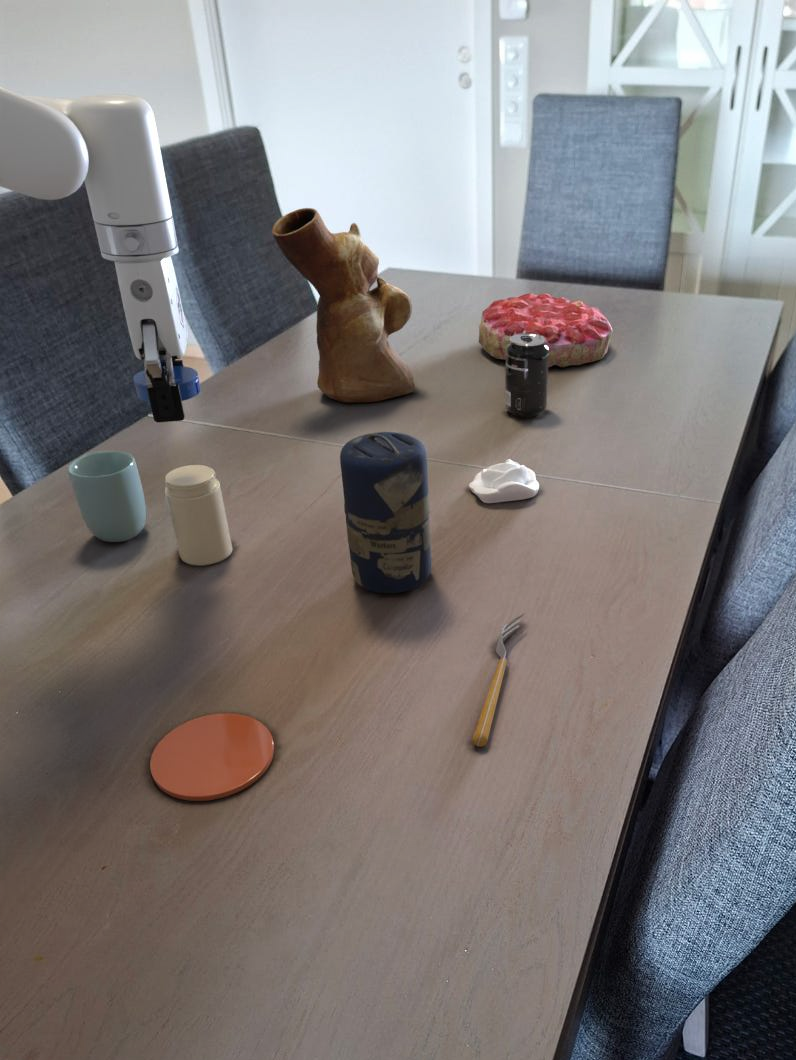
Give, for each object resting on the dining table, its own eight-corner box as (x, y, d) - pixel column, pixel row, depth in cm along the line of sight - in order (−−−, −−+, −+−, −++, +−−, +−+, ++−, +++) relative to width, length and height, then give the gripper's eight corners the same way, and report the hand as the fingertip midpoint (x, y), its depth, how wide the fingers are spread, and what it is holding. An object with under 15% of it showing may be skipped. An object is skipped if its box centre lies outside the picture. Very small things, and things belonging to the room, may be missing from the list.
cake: (471, 324, 182) (473, 284, 177) (592, 324, 185) (597, 285, 180) (485, 375, 163) (487, 331, 158) (619, 374, 166) (626, 332, 161)
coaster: (146, 810, 77) (144, 805, 77) (156, 726, 86) (155, 721, 86) (275, 790, 79) (274, 785, 79) (273, 710, 88) (272, 705, 88)
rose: (513, 484, 117) (453, 466, 122) (512, 515, 120) (454, 495, 124) (553, 457, 124) (495, 441, 128) (552, 486, 126) (495, 469, 131)
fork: (492, 738, 82) (525, 611, 98) (472, 732, 82) (508, 606, 98) (486, 756, 84) (519, 628, 99) (467, 751, 84) (503, 623, 99)
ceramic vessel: (432, 394, 155) (424, 204, 137) (316, 424, 145) (292, 223, 127) (386, 368, 165) (374, 189, 148) (276, 394, 155) (248, 205, 138)
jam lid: (210, 383, 102) (208, 367, 101) (186, 405, 97) (183, 388, 96) (153, 380, 103) (149, 363, 102) (126, 401, 98) (122, 384, 97)
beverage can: (537, 401, 152) (539, 330, 145) (552, 416, 146) (556, 343, 139) (499, 406, 150) (499, 334, 143) (513, 422, 145) (514, 347, 138)
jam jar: (178, 568, 109) (159, 489, 103) (181, 542, 114) (163, 465, 108) (232, 562, 110) (216, 484, 104) (233, 536, 116) (218, 460, 109)
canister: (366, 607, 102) (351, 461, 92) (342, 567, 109) (326, 427, 99) (444, 588, 105) (439, 445, 95) (416, 550, 112) (408, 413, 102)
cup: (106, 518, 120) (86, 448, 114) (162, 521, 119) (145, 451, 113) (77, 547, 114) (55, 475, 108) (136, 551, 113) (116, 479, 107)
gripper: (170, 256, 84) (203, 435, 95) (181, 219, 98) (209, 378, 109) (86, 260, 83) (129, 441, 94) (109, 221, 97) (144, 383, 107)
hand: (171, 406), depth 101 cm, fingers closed on jam lid, 6 cm apart
